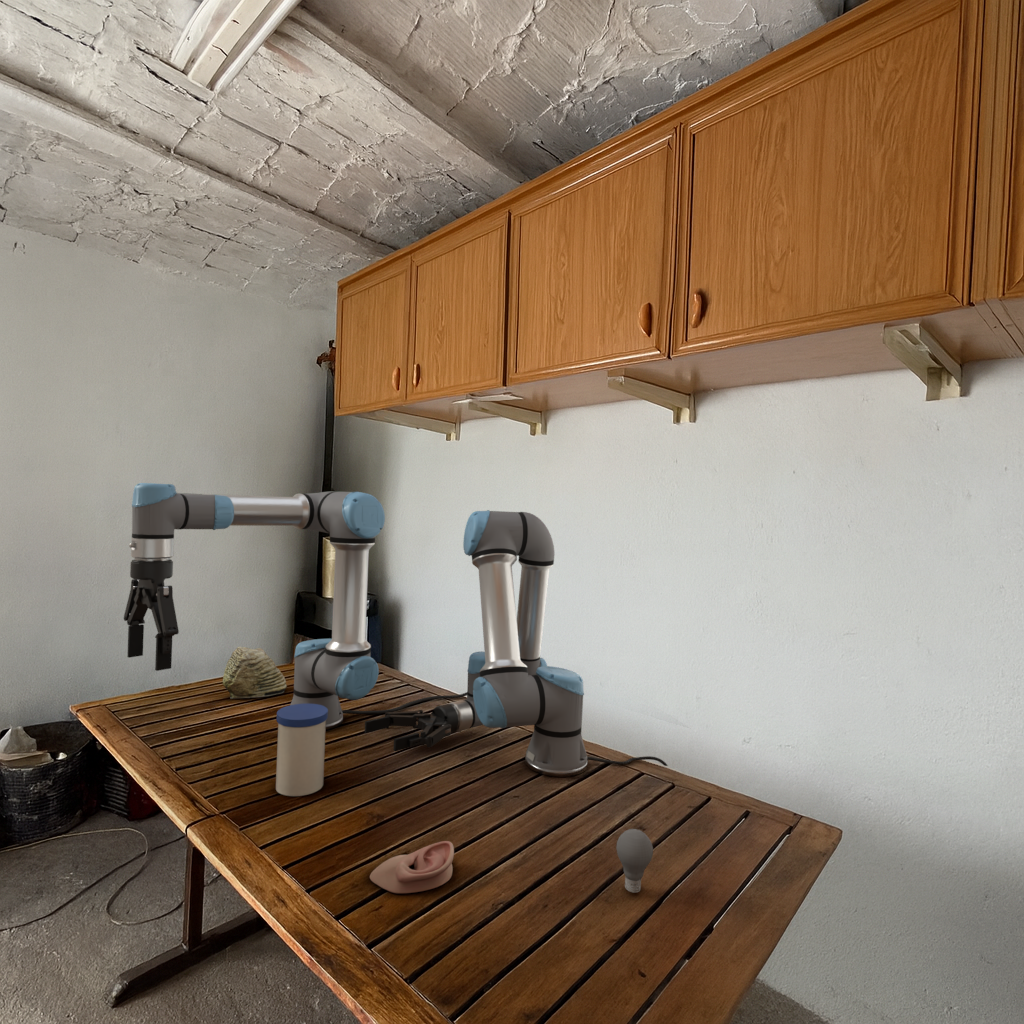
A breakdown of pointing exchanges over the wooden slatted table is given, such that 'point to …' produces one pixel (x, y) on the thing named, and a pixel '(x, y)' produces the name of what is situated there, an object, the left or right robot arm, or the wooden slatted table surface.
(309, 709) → the lid
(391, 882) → the anatomical model
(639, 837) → the light bulb
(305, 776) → the jar
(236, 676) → the fossil
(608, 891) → the wooden slatted table surface
